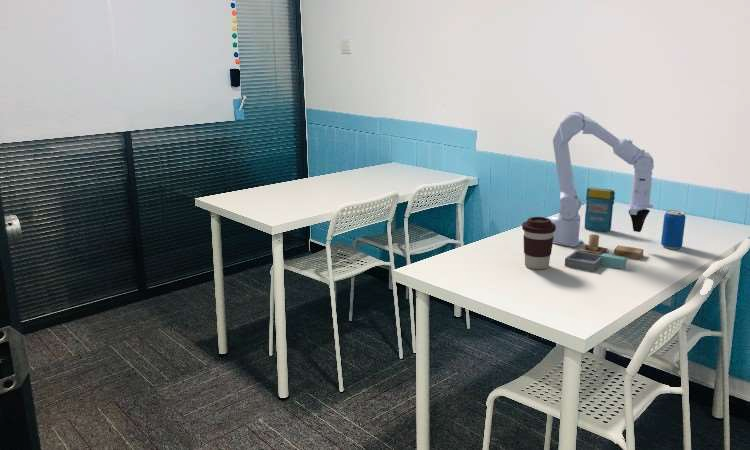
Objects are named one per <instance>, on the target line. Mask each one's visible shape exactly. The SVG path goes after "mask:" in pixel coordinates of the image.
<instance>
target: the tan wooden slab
mask: <svg viewBox="0 0 750 450" xmlns="http://www.w3.org/2000/svg"><path fill="white" fill-rule="evenodd" d="M613 255H617V256H622V257H627V258H626V259H631V258H632V260H638V261H641V258H642V257H643V256H644V248H640V247H639V248H638V247H631V246H624V245H617V246H615V248H614V249H613Z"/></svg>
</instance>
